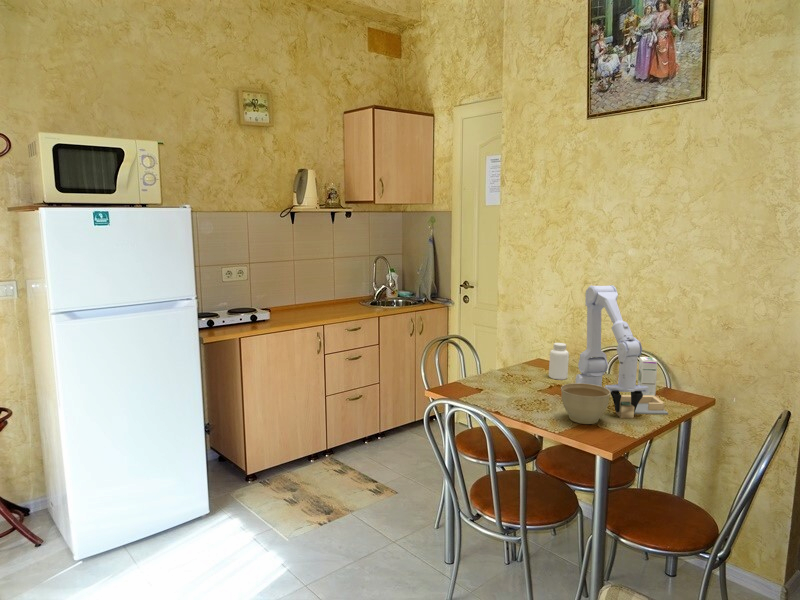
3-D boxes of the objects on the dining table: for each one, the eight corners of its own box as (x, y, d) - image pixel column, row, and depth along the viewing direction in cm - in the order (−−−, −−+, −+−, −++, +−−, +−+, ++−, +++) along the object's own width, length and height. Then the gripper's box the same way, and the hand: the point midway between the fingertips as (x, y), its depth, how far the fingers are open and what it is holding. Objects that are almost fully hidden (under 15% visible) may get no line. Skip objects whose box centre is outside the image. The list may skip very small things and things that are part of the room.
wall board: (628, 413, 199) (629, 405, 198) (616, 402, 211) (616, 394, 210) (668, 414, 199) (668, 406, 198) (653, 403, 211) (654, 395, 210)
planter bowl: (615, 419, 193) (617, 389, 192) (596, 432, 181) (598, 400, 180) (571, 408, 204) (573, 379, 202) (551, 420, 192) (552, 389, 190)
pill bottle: (567, 380, 239) (569, 346, 237) (548, 379, 241) (549, 345, 239) (567, 375, 247) (569, 342, 244) (548, 374, 249) (550, 341, 247)
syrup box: (655, 396, 219) (658, 360, 216) (639, 395, 220) (642, 359, 218) (652, 392, 224) (654, 357, 222) (636, 391, 225) (639, 356, 223)
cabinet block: (620, 417, 195) (621, 404, 194) (615, 413, 199) (616, 399, 198) (633, 417, 195) (634, 404, 194) (627, 413, 199) (628, 399, 199)
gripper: (610, 377, 191) (608, 415, 193) (653, 377, 191) (650, 415, 193) (603, 371, 198) (601, 408, 200) (644, 372, 198) (641, 408, 200)
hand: (624, 411), depth 197 cm, fingers open, 5 cm apart
